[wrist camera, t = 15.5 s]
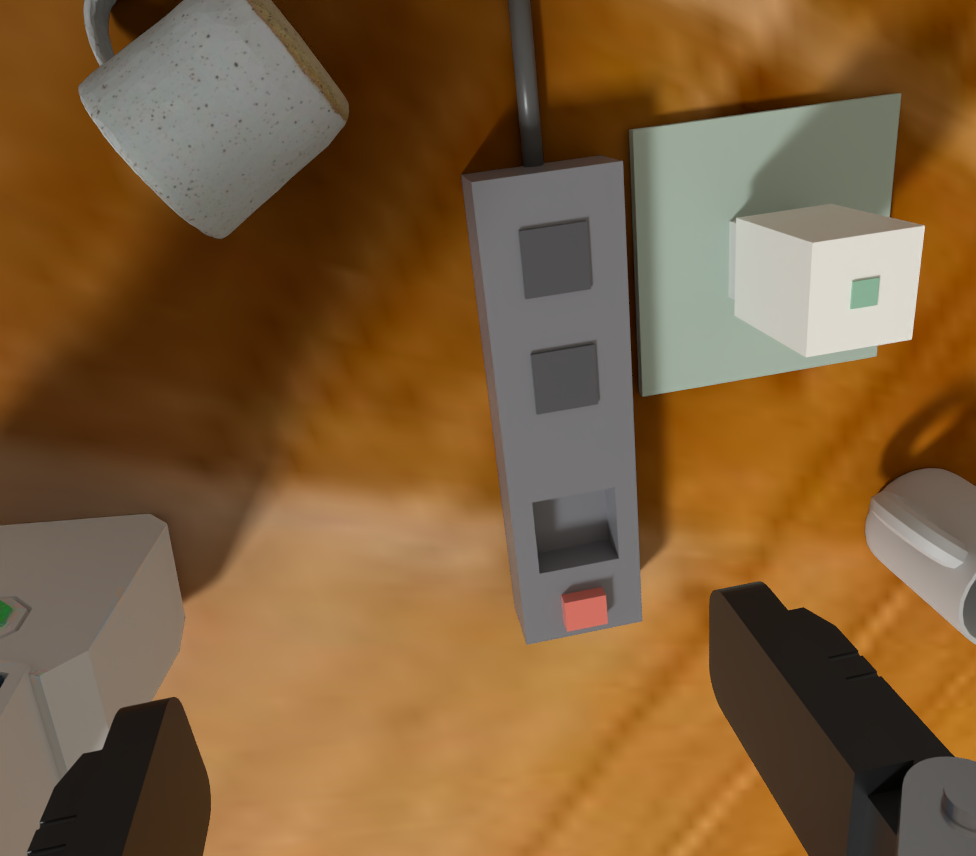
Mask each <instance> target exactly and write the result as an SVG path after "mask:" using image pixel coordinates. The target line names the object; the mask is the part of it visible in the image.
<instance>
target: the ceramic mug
mask: <svg viewBox="0 0 976 856" xmlns="http://www.w3.org/2000/svg"><path fill="white" fill-rule="evenodd" d="M116 1H117V0H84V20H85V28H86V32H87V36H88V40H89V42H90V45H91V48H92V50H93V53H94V55H95V57H96V59H97V61H98V63H99V65H100V67H99V68H98V69H96V70H95V71H94V72H93V73H92V74H90V75H89V76H88V77H87V78H86V79H85V80H84V81H83V82H82V83H81V84H80V85H79V94H80V98H81V101H82V103H83V104H84V107H85V109H86V111H87V112H88V114H89V115H90V117H91V118H92V120H93V121H94V123H95V124H96V125H97V126H98V128H99V129H100V131H101V132H102V134H103V135H104V137H105V138H106V139H107V140H108V142H109V143H110V144H111V145H112V147H113V148H114V149H115V151H116V152H117V153H118V154H119V155H120V156H121V157H122V158H123V159H124V161H125V162H126V163H127V164H128V165H129V166H130V167H131V168H132V170H133V171H134V172H135V173H136V174H137V175H138V176H139V177H141V179H142V180H143V181H144V182H145V183H146V184H147V185H148V186H149V187H150V188H151V189H152V190H153V191H154V192H155V193H156V194H157V195H158V196H159V197H160V198H161V199H162V200H163V201H164V202H165V203H166V204H167V205H168V206H169V207H170V208H171V209H172V210H173V211H175V212H176V213H177V214H178V215H179V216H180V217H181V218H183V219H184V220H185V221H186V222H188V223H189V224H191V225H192V226H194V227H196V228H197V229H199V230H200V231H201V232H202V233H204V234H206V235H207V236H211V237H214V238H217V239H222V238H224V237H227V236H228V235H229V234H230V233H231V232H233V231H234V230H235V229H236V228H237V227H238V226H239V225H240V224H241V223H242V222H243V221H245V220H246V219H247V218H248V217H249V216H250V215H251V214H252V213H253V212H254V211H256V210H257V209H258V208H259V207H260V206H261V205H262V204H263V203H265V202H266V201H267V200H268V199H269V198H270V197H271V196H273V195H274V194H275V193H276V192H277V191H278V190H279V189H280V188H281V187H282V186H283V185H284V184H286V183H287V182H288V181H289V180H290V179H291V178H292V177H293V176H294V175H295V174H296V173H298V172H299V171H300V170H301V169H302V168H303V167H304V166H306V165H307V164H308V163H309V162H310V161H311V160H313V159H314V158H315V157H316V156H317V155H318V154H319V153H321V152H322V151H323V150H324V149H325V148H326V147H328V146H329V144H330V143H331V142H332V140H333V139H334V138H335V137H336V135H337V134H338V133H339V132H340V130H341V129H342V128H343V127H344V125H345V124H346V122H347V120H348V116H349V104H348V101H347V99H346V98H345V96H344V95H343V93H342V92H341V91H340V89H339V88H338V86H337V85H336V84H335V82H334V81H333V80H332V78H331V77H330V75H329V74H328V73H327V71H326V70H325V69H324V67H323V66H322V65H321V63H320V62H319V61H318V59H317V58H316V57H315V55H314V54H313V53H312V51H311V50H310V49H309V47H308V46H307V45H306V43H305V42H304V41H303V39H302V38H301V37H300V35H299V34H298V33H297V32H296V30H295V29H294V28H293V27H292V25H291V24H290V23H289V22H288V20H287V19H286V18H285V17H284V15H283V14H282V13H281V12H280V10H279V9H278V8H277V7H276V5H275V4H274V3H273V2H272V0H183V1H182V2H181V3H180V4H178V5H177V6H176V7H175V8H174V9H173V10H172V11H171V12H170V13H168V14H167V15H166V16H165V17H164V18H163V19H161V20H160V21H159V22H157V23H156V24H155V25H153V26H152V27H151V28H150V29H148V30H147V31H146V32H144V33H143V34H142V35H140V36H139V37H138V38H136V39H135V40H134V41H133V42H131V43H130V44H129V45H128V46H126V47H125V48H124V49H122V50H121V51H120V52H119V53H117V54H116V55H115V56H114V53H113V50H112V46H111V42H110V38H109V23H108V22H109V17H110V12H111V9H112V6H113V5H114V4H115V3H116Z"/></svg>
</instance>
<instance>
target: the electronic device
mask: <svg viewBox="0 0 976 856" xmlns="http://www.w3.org/2000/svg"><path fill="white" fill-rule="evenodd" d="M184 622H185V613H184V608H183V603H182V598H181V592H180V587H179V582H178V577H177V572H176V567H175V561H174V556H173V551H172V546H171V541H170V536H169V530H168V525H167V523H165V522H164V521H162V520H160V519H158V518H157V517H155V516H153V515H152V514H137V515H125V516H112V517H100V518H87V519H75V520H62V521H50V522H37V523H25V524H12V525H0V856H27V850H28V848H29V846H30V843H31V841H32V839H33V836H34V834H35V831H36V830H38V829H39V828H40V823H39V822H40V820H41V817H42V815H43V813H44V810H45V808H46V806H47V803H48V801H49V799H50V796H51V794H52V791H53V789H54V787H55V786H56V785H57V783H58V782H59V781H60V780H61V779H62V778H63V776H64V775H65V774H66V773H67V772H68V770H69V769H70V768H71V767H72V766H73V765H74V763H75V762H76V761H77V760H78V759H79V757H80V756H81V755H82V754H83V753H88V752H93V751H98V750H102V748H103V746H104V743H105V740H106V738H107V735H108V732H109V730H110V727H111V724H112V722H113V719H114V717H115V715H116V713H117V711H118V710H119V709H120V708H122V707H127V706H131V705H136V704H141V703H146V702H151V701H152V699H153V697H154V696H155V694H156V692H157V690H158V689H159V687H160V685H161V683H162V681H163V680H164V678H165V676H166V674H167V673H168V671H169V669H170V667H171V665H172V664H173V662H174V660H175V658H176V656H177V655H178V653H179V651H180V645H181V639H182V633H183V627H184Z"/></svg>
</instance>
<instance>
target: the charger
mask: <svg viewBox="0 0 976 856" xmlns="http://www.w3.org/2000/svg"><path fill="white" fill-rule="evenodd" d="M924 230H925V225H920V224H916V223H912V222H908V221H903V220H899V219H895V218H891V217H886V216H882V215H878V214H873V213H869V212H865V211H861V210H856V209H852V208H848V207H843V206H839V205H835V204H825V205H819V206H812V207H805V208H799V209H792V210H785V211H778V212H772V213H765V214H758V215H751V216H745V217H738V218H736V220H734V221H730V222H729V293H728V297H730V298H732V299H734V300H735V311H734V316H736V317H738V318H739V319H741V320H743V321H744V322H746V323H748V324H750V325H751V326H753V327H755V328H756V329H758V330H760V331H762V332H763V333H765V334H767V335H768V336H770V337H772V338H774V339H775V340H777V341H779V342H780V343H782V344H784V345H785V346H787V347H789V348H791V349H792V350H794V351H796V352H797V353H799V354H801V355H803V356H804V357H811V356H817V355H823V354H829V353H835V352H841V351H847V350H853V349H859V348H865V347H870V346H876V345H882V344H888V343H894V342H900V341H906V340H912V333H913V324H914V316H915V307H916V299H917V290H918V281H919V273H920V264H921V256H922V247H923V238H924Z"/></svg>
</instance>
